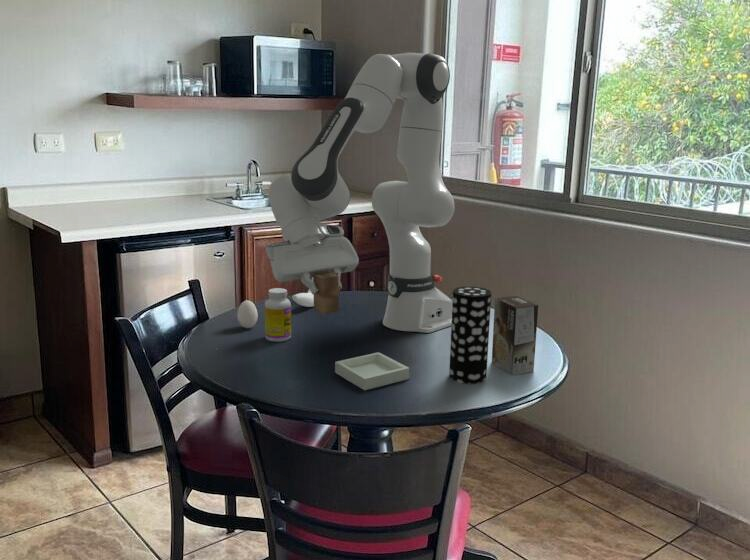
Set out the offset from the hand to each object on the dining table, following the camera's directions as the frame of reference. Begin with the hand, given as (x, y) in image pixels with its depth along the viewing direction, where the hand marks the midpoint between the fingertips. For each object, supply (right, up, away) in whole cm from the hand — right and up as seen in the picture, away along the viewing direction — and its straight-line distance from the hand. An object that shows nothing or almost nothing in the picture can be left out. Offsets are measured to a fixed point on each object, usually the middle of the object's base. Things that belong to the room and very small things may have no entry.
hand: (327, 290), depth 156 cm
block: (0, -4, +2) cm, 5 cm away
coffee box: (+43, -18, +12) cm, 48 cm away
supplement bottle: (-15, -13, +29) cm, 35 cm away
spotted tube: (+31, -20, +6) cm, 37 cm away
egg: (-24, -11, +37) cm, 45 cm away
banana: (-9, -5, +59) cm, 60 cm away
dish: (+10, -19, +5) cm, 22 cm away
